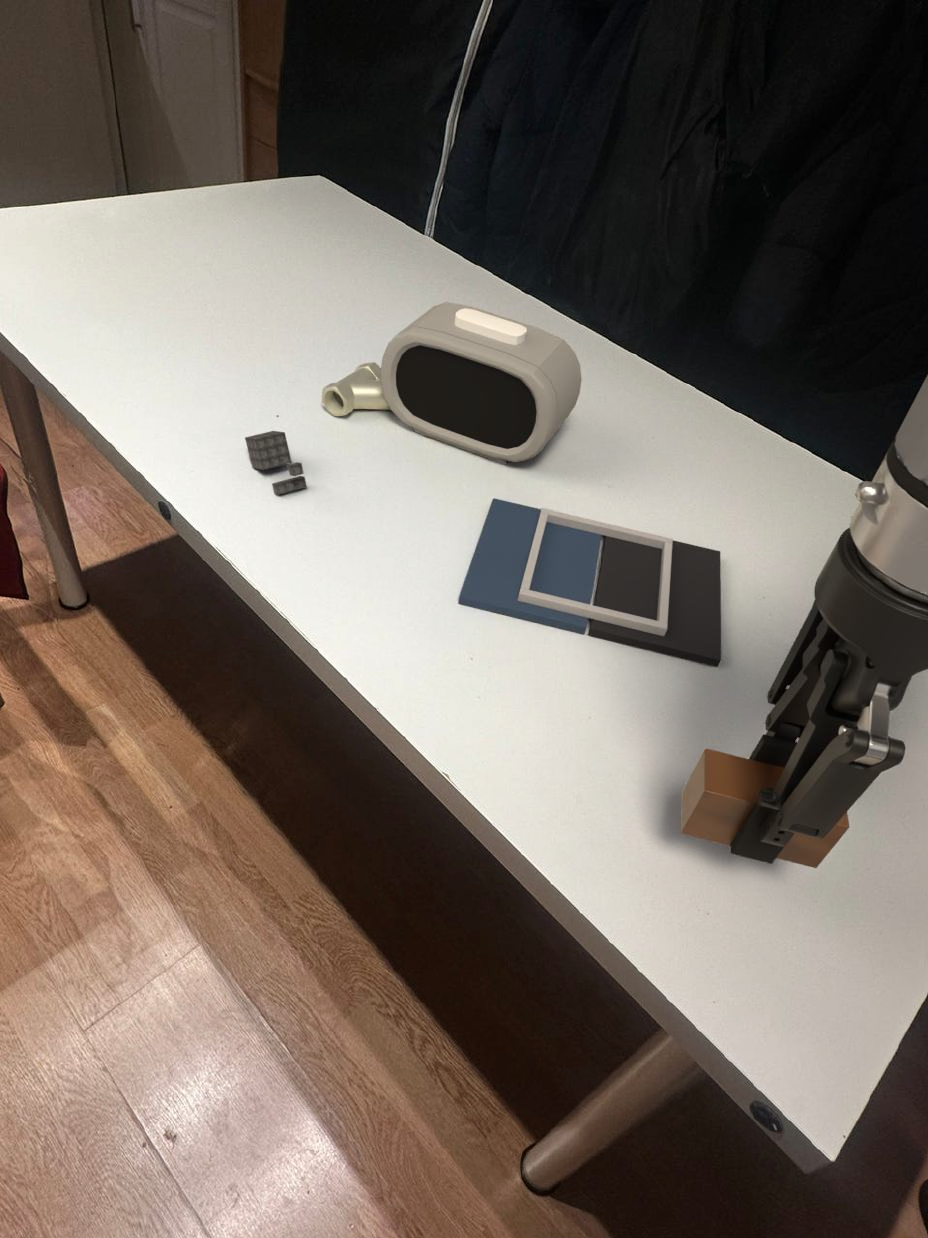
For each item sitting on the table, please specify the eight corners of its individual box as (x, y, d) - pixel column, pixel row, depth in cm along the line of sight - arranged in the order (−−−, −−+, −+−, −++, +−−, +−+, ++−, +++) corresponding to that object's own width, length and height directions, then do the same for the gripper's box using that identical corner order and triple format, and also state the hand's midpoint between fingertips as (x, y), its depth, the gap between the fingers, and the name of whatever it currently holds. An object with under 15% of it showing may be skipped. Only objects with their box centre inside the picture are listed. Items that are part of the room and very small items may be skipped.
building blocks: (273, 430, 87) (304, 434, 80) (285, 481, 89) (316, 489, 82) (244, 437, 85) (274, 441, 79) (257, 489, 87) (287, 497, 81)
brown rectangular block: (811, 824, 56) (843, 782, 53) (816, 869, 54) (849, 827, 50) (681, 791, 57) (704, 747, 54) (680, 834, 55) (704, 790, 51)
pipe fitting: (406, 407, 99) (360, 384, 101) (411, 379, 96) (364, 355, 98) (368, 435, 94) (320, 410, 96) (371, 405, 91) (323, 380, 93)
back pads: (717, 558, 85) (723, 543, 83) (717, 667, 73) (725, 652, 72) (491, 505, 87) (494, 489, 85) (457, 604, 75) (460, 587, 74)
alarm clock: (375, 422, 95) (381, 310, 86) (413, 389, 102) (422, 281, 92) (538, 482, 91) (564, 370, 81) (567, 443, 97) (593, 335, 88)
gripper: (826, 453, 45) (696, 721, 61) (866, 662, 33) (692, 926, 50) (964, 482, 45) (796, 745, 61) (1056, 706, 33) (817, 959, 49)
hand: (750, 826), depth 55 cm, fingers closed on brown rectangular block, 3 cm apart
